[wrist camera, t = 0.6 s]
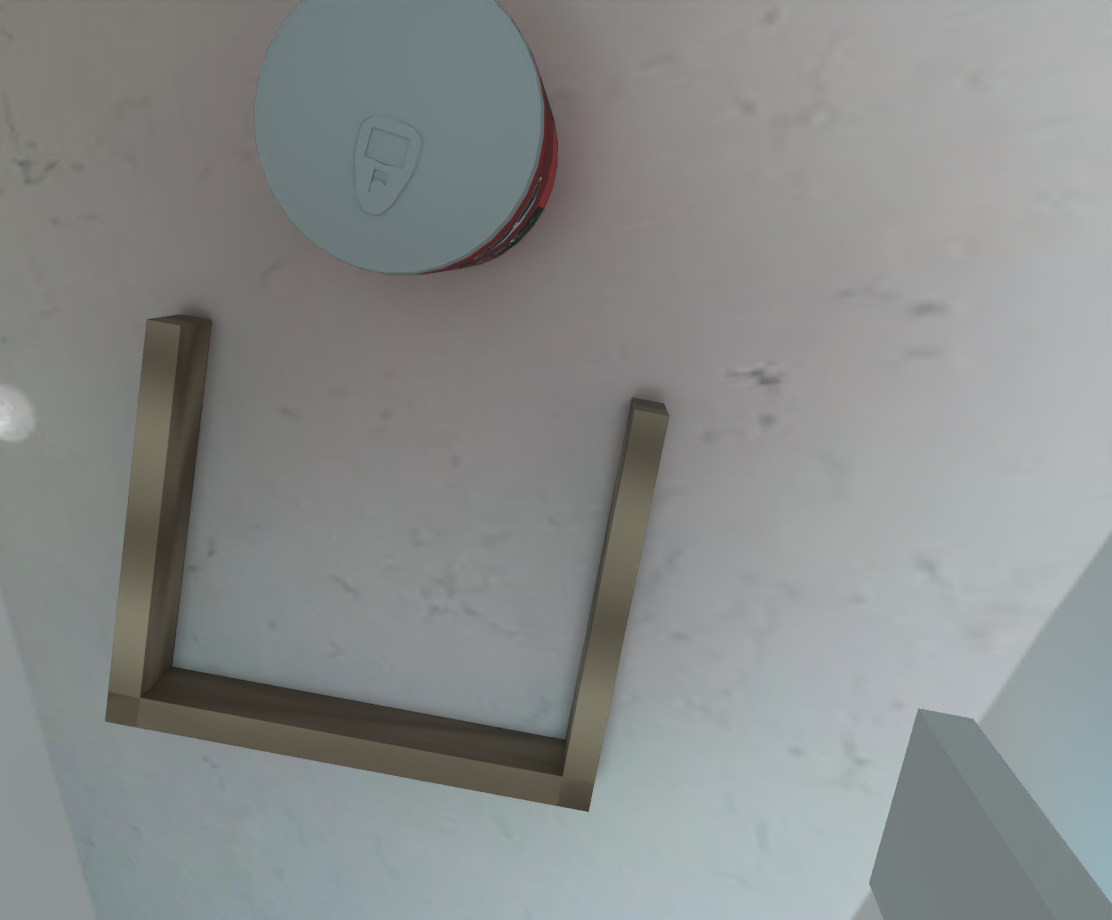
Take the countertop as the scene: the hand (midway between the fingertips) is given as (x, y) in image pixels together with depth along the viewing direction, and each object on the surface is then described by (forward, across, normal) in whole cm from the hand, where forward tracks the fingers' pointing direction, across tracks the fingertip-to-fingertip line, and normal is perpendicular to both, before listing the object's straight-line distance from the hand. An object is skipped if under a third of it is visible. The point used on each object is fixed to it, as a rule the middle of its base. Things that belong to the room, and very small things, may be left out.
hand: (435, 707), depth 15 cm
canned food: (+26, -5, +8) cm, 28 cm away
